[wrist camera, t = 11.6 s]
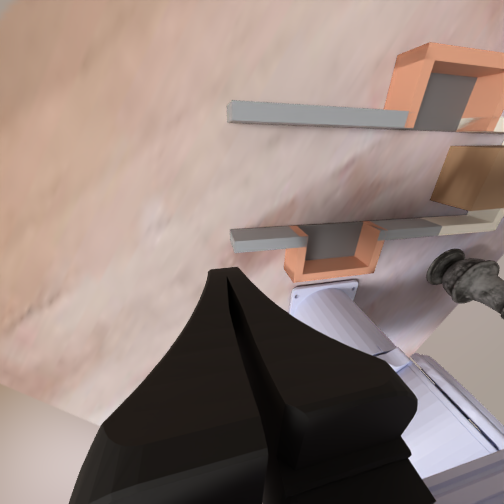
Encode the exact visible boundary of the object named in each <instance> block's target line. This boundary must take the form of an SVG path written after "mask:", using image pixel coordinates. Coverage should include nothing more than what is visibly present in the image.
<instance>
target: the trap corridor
mask: <svg viewBox="0 0 504 504" xmlns="http://www.w3.org/2000/svg"><path fill="white" fill-rule="evenodd" d="M503 110H504V53H501V52H494V51H487V50H480V49H473V48H466V47H459V46H452V45H445V44H438V43H431V42H429V43H427V44H424V45H422V46H419V47H417V48H414V49H412V50H409V51H407V52H404V53H402V54H399V55H398V56H397V60H396V64H395V68H394V72H393V75H392V79H391V83H390V87H389V91H388V95H387V99H386V103H385V107H384V110H382V109H366V108H350V107H334V106H318V105H301V104H285V103H269V102H253V101H237V100H232V101H231V102H230V103H229V104H228V105H227V123H248V124H273V125H298V126H323V127H348V128H373V129H398V130H423V131H448V132H473V133H498V134H504V117H500V116H501V114H502V112H503ZM502 145H503V146H504V141H503V143H502ZM503 216H504V208H500V209H489V210H478V211H468V213H467V215H457V216H440V217H424V218H408V219H392V220H376V221H360V222H344V223H328V224H312V225H296V226H280V227H264V228H248V229H231V230H230V241H231V244H232V247H233V250H234V253H241V252H253V251H264V250H276V249H286V253H285V262H284V269H285V271H286V272H287V274H288V275H289V277H290V278H291V280H292V281H293V283H295V282H303V281H311V280H320V279H328V278H336V277H345V276H353V275H361V274H370V273H374V271H375V268H376V265H377V262H378V259H379V256H380V253H381V250H382V247H383V244H384V241H385V240H394V239H406V238H417V237H429V236H441V235H453V234H464V233H476V232H488V231H495V230H496V228H497V226H498V225H499V223H500V221H501V219H502V218H503Z"/></svg>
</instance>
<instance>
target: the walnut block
mask: <svg viewBox="0 0 504 504" xmlns="http://www.w3.org/2000/svg"><path fill="white" fill-rule="evenodd" d="M430 200H431V201H435V202H438V203H442V204H446V205H450V206H453V207H457V208H461V209H464V210H468V211H478V210H489V209H500V208H504V146H503V145H493V146H450V149H449V151H448V154H447V157H446V159H445V162H444V164H443V167H442V170H441V172H440V175H439V178H438V180H437V183H436V185H435V188H434V191H433V193H432V196H431V198H430Z"/></svg>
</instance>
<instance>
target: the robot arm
mask: <svg viewBox="0 0 504 504" xmlns="http://www.w3.org/2000/svg"><path fill="white" fill-rule="evenodd" d="M357 287H358V282H357V281H356V280H350V281H342V282H334V283H326V284H318V285H310V286H302V287H296V288H294V289H293V290H292V294H291V301H290V309H289V313H288V312H286V311H285V310H283V309H282V308H280V307H279V306H278V305H276V304H275V303H274V302H273V301H272V300H270V299H269V298H268V297H267V296H266V295H265V294H264V293H262V292H261V291H260V290H259V289H258V288H257V287H256V286H255V285H254V284H253V283H252V282H251V281H250V280H249V279H248V278H247V277H246V275H245V274H244V273H243V272H242V271H241V270H240V269H239V268H238V267H231V268H221V269H211V270H209V271H208V277H207V281H206V284H205V287H204V290H203V292H202V295H201V297H200V300H199V302H198V304H197V306H196V308H195V310H194V312H193V314H192V316H191V317H190V319H189V321H188V322H187V324H186V326H185V327H184V329H183V330H182V332H181V334H180V335H179V336H178V338H177V339H176V341H175V342H174V344H173V345H172V346H171V348H170V349H169V350H168V352H167V353H166V354H165V356H164V357H163V358H162V359H161V361H160V362H159V363H158V364H157V365H156V366H155V368H154V369H153V370H152V371H151V372H150V374H149V375H148V376H147V377H146V378H145V380H144V381H143V382H142V383H141V384H140V385H139V386H138V387H137V388H136V390H135V391H134V392H133V393H132V394H131V395H130V396H129V397H128V398H127V399H126V400H125V401H124V402H123V403H122V404H121V405H120V406H119V407H118V408H117V409H116V410H115V411H114V412H113V413H112V414H111V415H110V416H109V417H108V418H107V419H106V420H105V421H104V422H103V423H102V425H101V426H100V428H99V430H98V433H97V434H96V437H95V439H94V441H93V443H92V445H91V447H90V450H89V452H88V454H87V456H86V459H85V461H84V463H83V465H82V467H81V470H80V472H79V475H78V478H77V481H76V484H75V486H74V489H73V492H72V496H71V498H70V501H69V504H262V503H263V504H504V426H503V425H502V424H501V423H500V422H499V421H498V420H497V419H496V418H495V417H494V416H493V415H492V414H491V413H490V412H489V411H488V410H487V409H486V408H485V407H484V406H483V405H482V404H481V403H480V402H479V401H478V400H477V399H476V398H475V397H474V396H473V395H472V394H471V393H470V392H469V391H468V390H467V389H465V388H464V387H463V386H462V385H461V384H460V383H459V382H458V381H457V380H456V379H455V378H454V377H453V376H452V375H450V374H449V373H448V372H447V371H446V370H445V369H444V368H443V367H442V366H441V365H439V364H438V363H437V362H436V361H435V360H434V359H432V358H431V357H430V356H427V355H420V354H418V353H414V354H413V355H412V356H410V357H411V358H412V359H413V360H414V361H415V362H416V363H417V364H418V365H419V366H420V367H421V368H422V370H423V371H424V373H425V374H426V375H427V376H428V377H429V378H430V379H431V380H432V381H433V382H434V383H435V385H434V384H433V383H432V382H431V381H430V379H429V378H428V377H427V376H426V375H425V374H424V373H423V372H422V371H421V370H420V369H419V368H418V367H417V366H416V365H415V364H414V363H413V362H412V361H411V360H410V359H409V358H408V357H407V356H406V355H405V354H404V353H403V352H402V351H401V350H400V349H399V348H398V347H396V346H395V345H394V343H393V342H392V341H391V340H390V339H389V338H388V337H387V336H386V335H385V334H384V333H383V332H382V331H381V330H380V329H379V328H378V327H377V326H376V325H375V324H374V323H373V321H372V320H371V319H370V318H369V317H368V316H367V315H366V314H365V313H364V312H363V311H362V310H361V309H360V308H359V307H358V306H357V305H356V304H355V303H354V302H353V300H354V297H355V294H356V291H357ZM295 295H297V296H295ZM468 419H470V420H471V421H472V422H473V423H474V424H475V425H476V426H477V427H478V428H479V430H480V431H479V430H478V429H477V428H476V427H475V426H474V425H473V424H472V423H471V422H470V421H469V420H468Z"/></svg>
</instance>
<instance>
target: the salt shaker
mask: <svg viewBox="0 0 504 504" xmlns="http://www.w3.org/2000/svg"><path fill="white" fill-rule="evenodd" d="M498 274H499V265H498V263H497V262H495V261H490V260H488V261H485V260H482V259H473V258H469V259H465V255H464V253H463V251H461V250H460V249H451V250H448V251H446V252H444V253H443V254H441V255H440V256H439V257H438V258H436V259H435V260H434V262H433V263H432V264H431V266H430V267H429V269H428V272H427V277H426V278H427V281H428V282H429V283H430V284H433V285H438V284H442V283H443V288H444V289H445V290H446V292H447V293H448V294H449V295H450V296H451V297H452V300H453V301H454V302H456V303H467V302H470V301H472V300H475V301H478V302H481V303H483V304H485V305H487V306H488V307H490V308H492V309H493V310H495V311H497V312H499V313H500V314H501V317H502V318H503V319H504V280H502V279H501V278H500V277H498Z"/></svg>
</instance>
